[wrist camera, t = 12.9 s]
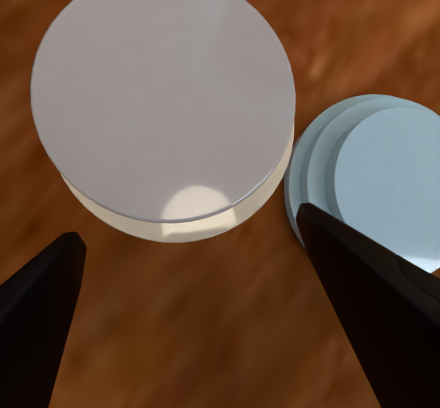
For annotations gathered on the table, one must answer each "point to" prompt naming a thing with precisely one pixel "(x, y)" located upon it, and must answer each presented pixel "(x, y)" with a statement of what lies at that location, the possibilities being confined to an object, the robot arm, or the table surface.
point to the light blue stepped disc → (373, 173)
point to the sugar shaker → (165, 112)
